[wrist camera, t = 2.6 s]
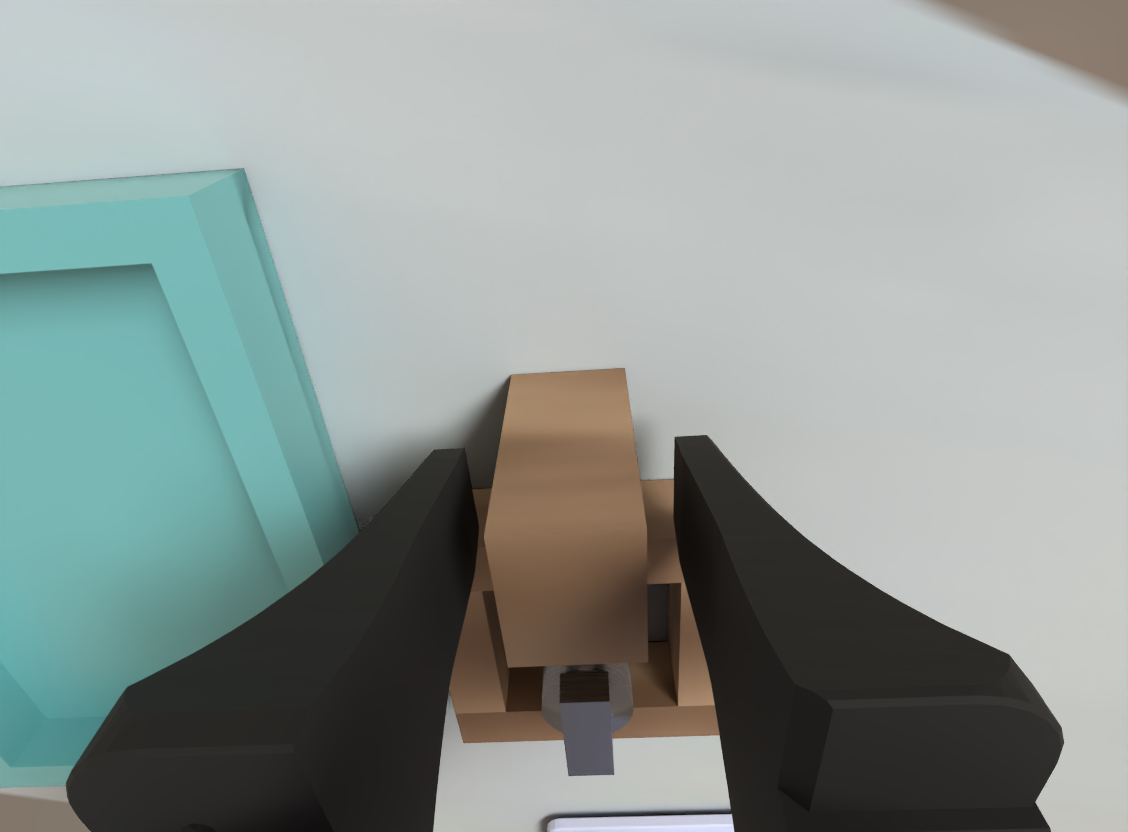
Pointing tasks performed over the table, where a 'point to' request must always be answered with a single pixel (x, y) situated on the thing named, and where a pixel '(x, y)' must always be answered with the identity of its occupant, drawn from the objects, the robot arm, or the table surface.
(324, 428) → the tray
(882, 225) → the table surface
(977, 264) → the table surface
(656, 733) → the collar
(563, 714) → the stake
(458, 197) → the table surface
